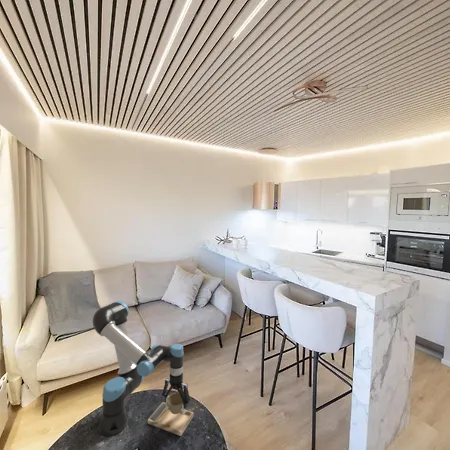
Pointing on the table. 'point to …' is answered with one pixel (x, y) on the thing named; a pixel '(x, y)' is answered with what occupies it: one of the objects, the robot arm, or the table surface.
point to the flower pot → (174, 403)
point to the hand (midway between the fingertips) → (175, 410)
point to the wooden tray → (170, 419)
